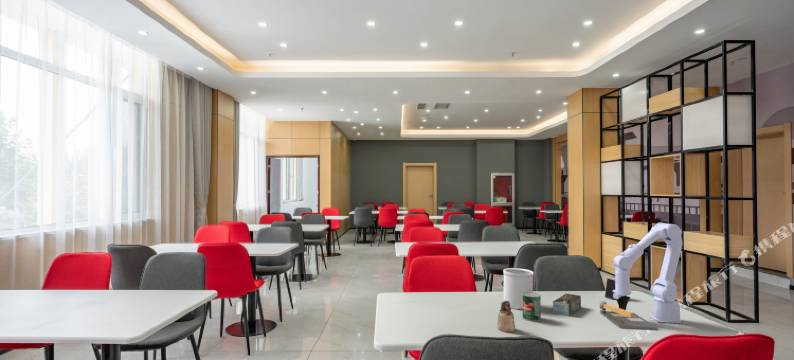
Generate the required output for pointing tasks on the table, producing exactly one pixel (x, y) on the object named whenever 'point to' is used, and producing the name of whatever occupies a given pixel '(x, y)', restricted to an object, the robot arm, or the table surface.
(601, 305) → the swing arm
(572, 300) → the beverage carton
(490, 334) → the table surface
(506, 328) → the figurine
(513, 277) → the utensil holder
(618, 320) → the panel
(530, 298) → the canned tomato
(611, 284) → the speaker
